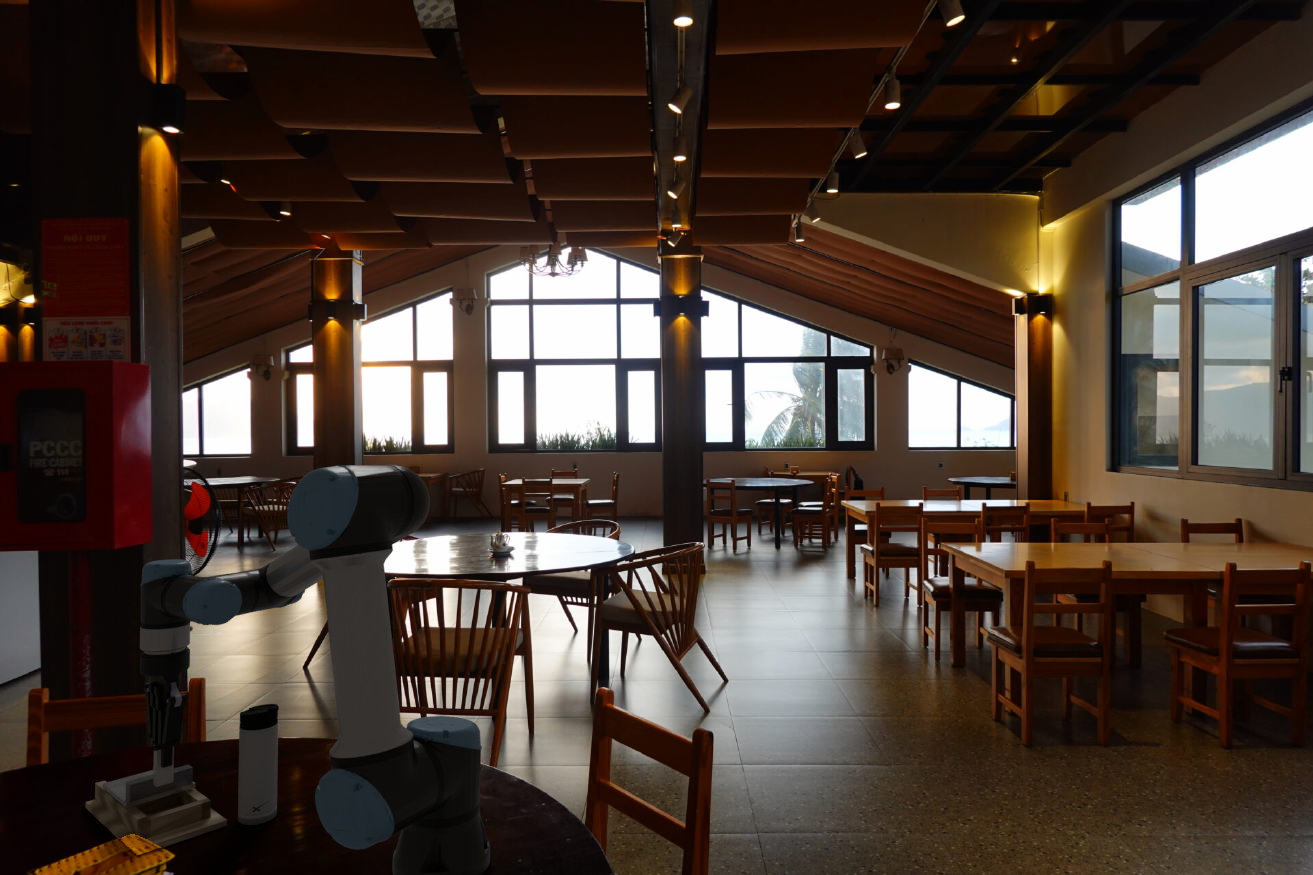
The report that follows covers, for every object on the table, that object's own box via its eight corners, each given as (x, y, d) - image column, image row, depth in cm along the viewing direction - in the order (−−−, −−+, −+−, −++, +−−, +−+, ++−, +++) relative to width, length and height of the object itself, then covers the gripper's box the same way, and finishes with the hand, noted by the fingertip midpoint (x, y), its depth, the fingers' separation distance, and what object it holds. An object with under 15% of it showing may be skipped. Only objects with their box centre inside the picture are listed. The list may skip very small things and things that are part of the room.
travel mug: (262, 827, 143) (264, 713, 143) (229, 823, 144) (231, 709, 144) (286, 811, 149) (287, 701, 149) (254, 807, 150) (255, 698, 150)
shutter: (195, 787, 149) (195, 766, 149) (126, 807, 140) (126, 785, 140) (170, 769, 156) (170, 749, 156) (103, 787, 148) (103, 766, 148)
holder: (226, 825, 143) (227, 802, 143) (136, 856, 133) (136, 831, 133) (169, 783, 160) (170, 762, 160) (85, 807, 149) (85, 785, 149)
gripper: (203, 651, 142) (201, 787, 143) (174, 638, 151) (172, 766, 151) (155, 660, 137) (153, 801, 137) (128, 646, 145) (125, 779, 145)
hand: (163, 783), depth 144 cm, fingers closed
